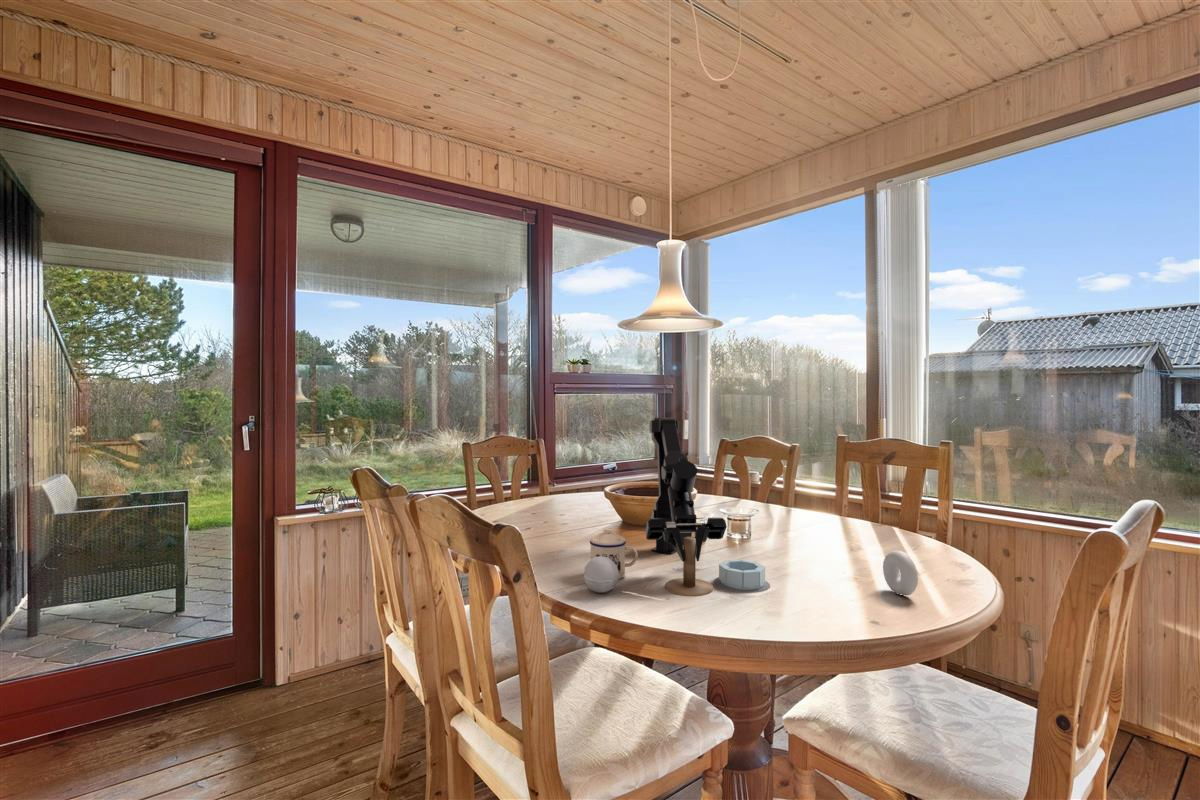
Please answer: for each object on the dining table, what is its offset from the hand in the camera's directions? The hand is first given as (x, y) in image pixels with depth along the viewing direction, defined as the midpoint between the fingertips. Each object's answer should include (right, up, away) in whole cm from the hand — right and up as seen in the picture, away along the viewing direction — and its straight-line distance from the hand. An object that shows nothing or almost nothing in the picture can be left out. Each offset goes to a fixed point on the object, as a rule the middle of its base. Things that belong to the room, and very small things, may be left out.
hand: (690, 560), depth 130 cm
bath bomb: (-21, -7, 0) cm, 22 cm away
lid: (0, -7, +1) cm, 7 cm away
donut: (+47, -8, -2) cm, 48 cm away
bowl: (+13, -7, +5) cm, 15 cm away
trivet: (+13, -7, +5) cm, 15 cm away
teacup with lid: (-17, -7, +11) cm, 22 cm away
